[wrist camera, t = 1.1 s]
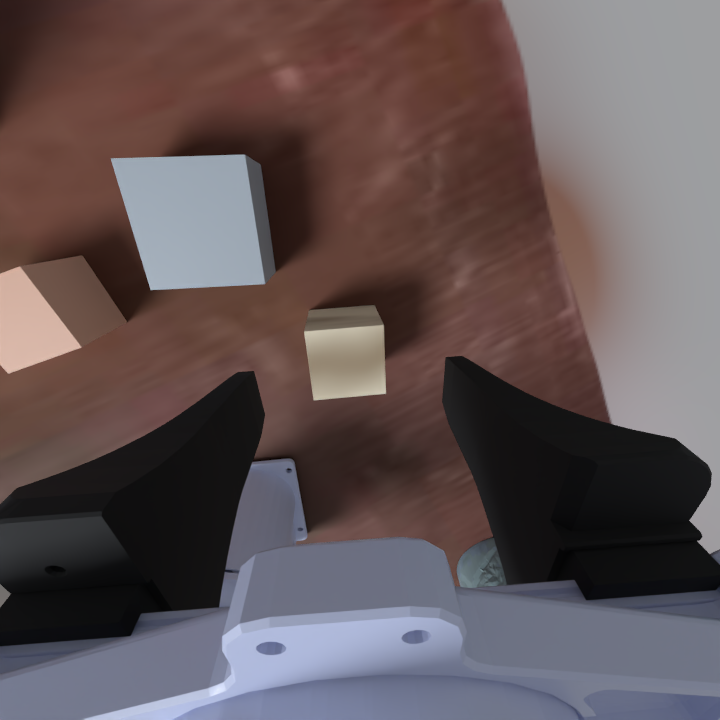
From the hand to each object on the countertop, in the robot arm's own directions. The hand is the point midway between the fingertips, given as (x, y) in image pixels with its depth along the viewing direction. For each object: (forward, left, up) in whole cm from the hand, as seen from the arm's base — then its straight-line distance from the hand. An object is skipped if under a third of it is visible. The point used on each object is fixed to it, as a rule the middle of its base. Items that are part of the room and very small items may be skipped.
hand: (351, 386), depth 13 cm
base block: (+6, +7, -11) cm, 14 cm away
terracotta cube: (+2, +17, -11) cm, 20 cm away
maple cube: (-2, 0, -11) cm, 11 cm away
